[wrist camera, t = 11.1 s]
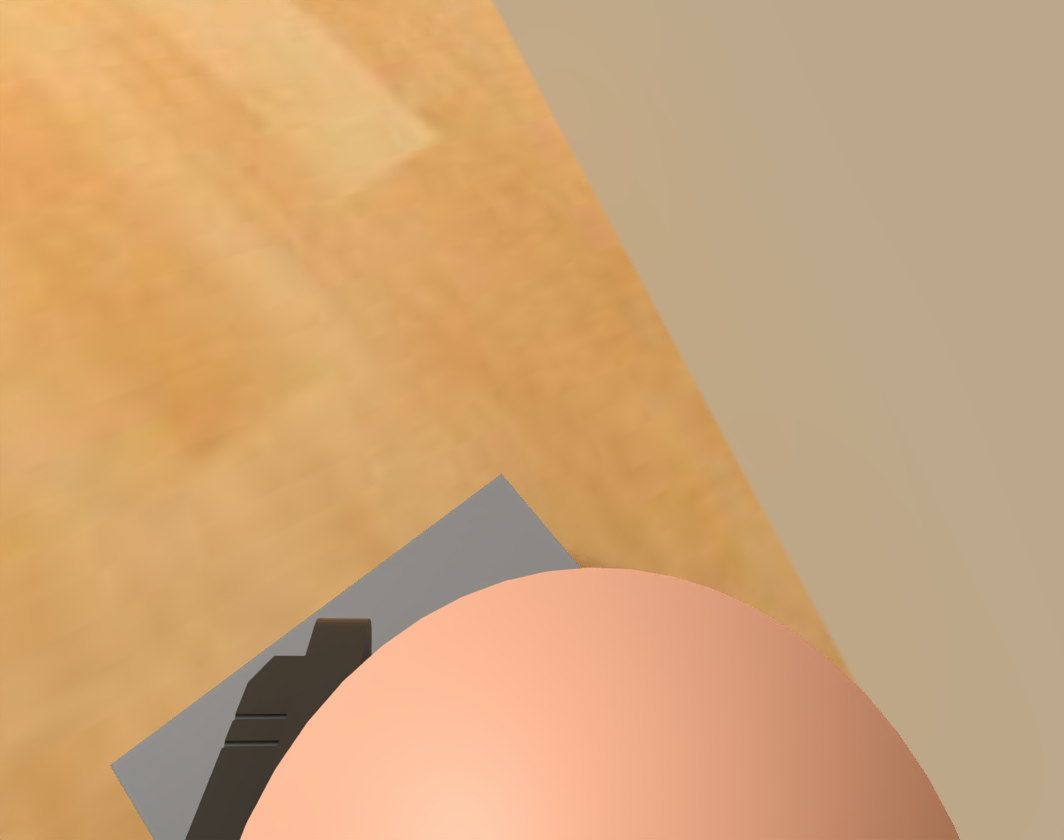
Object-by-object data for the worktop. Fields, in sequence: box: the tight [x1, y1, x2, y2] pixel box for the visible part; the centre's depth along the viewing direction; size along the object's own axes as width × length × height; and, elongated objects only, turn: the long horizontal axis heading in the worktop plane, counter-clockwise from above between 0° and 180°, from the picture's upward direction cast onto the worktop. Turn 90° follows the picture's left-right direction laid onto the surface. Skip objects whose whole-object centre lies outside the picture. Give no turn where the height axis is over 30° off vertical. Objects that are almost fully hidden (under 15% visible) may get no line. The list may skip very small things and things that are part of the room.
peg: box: [240, 568, 960, 840], centre depth 9 cm, size 4×4×12 cm
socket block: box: [110, 474, 580, 840], centre depth 18 cm, size 11×11×5 cm
